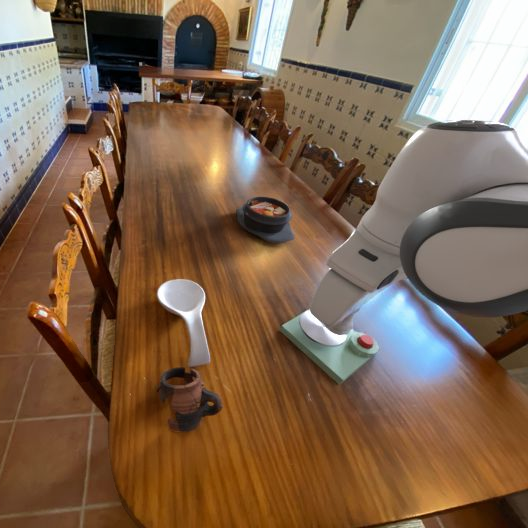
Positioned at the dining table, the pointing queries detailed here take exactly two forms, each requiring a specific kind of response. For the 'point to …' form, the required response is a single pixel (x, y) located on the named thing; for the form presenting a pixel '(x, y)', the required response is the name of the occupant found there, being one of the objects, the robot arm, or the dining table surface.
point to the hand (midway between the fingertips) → (342, 315)
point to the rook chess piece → (343, 326)
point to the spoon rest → (187, 314)
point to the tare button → (365, 341)
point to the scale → (331, 351)
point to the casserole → (266, 219)
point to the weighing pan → (319, 331)
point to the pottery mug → (188, 399)
